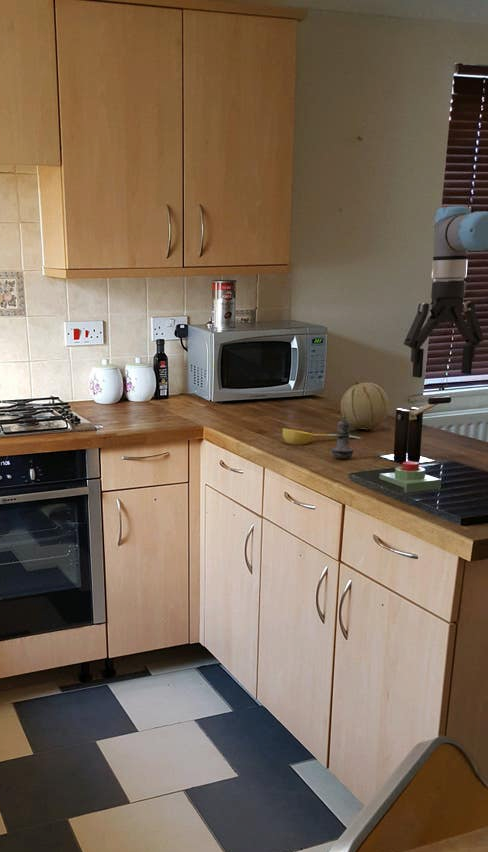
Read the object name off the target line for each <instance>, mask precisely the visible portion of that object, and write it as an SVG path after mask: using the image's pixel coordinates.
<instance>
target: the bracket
mask: <svg viewBox="0 0 488 852" xmlns="http://www.w3.org/2000/svg"><path fill="white" fill-rule="evenodd" d="M417 409H419V408H418V407H409V409H403V408H396V409H395V424H394V441H393V442H394V443H393V454H386V455H378V458H380V459H385V460H387V461H390V462H394V463H397V464H401V465H402V464H403V462H407V461H412V462H418V463H419V465H420V464H428V463H436V462H437V461H436V460H434V459H430V458H427V457H424V456H421V448H422V433H423V421H424V412H422V413H420V414H418V415H416V417H417V419H416V420H414V421H412V422H409V412H410V411H408V410H417Z"/></svg>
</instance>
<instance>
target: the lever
mask: <svg viewBox="0 0 488 852" xmlns="http://www.w3.org/2000/svg"><path fill="white" fill-rule="evenodd" d="M451 402H452V397H451V396H449V395H448V396H437V397H429V398H428V399H427V404H424V405H422V406H421V407H419V408H418V409H417V410H410V409H407V410H408V411H410V412H409V422H412V421H414V420H416V419H417V417H416V415H418V414H420V413H422V412H423V413H424V412H426V411H428V410H430V409H432V408H434V407H436V406H437V405H442V404H450V403H451Z"/></svg>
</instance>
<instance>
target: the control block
mask: <svg viewBox="0 0 488 852" xmlns="http://www.w3.org/2000/svg"><path fill="white" fill-rule="evenodd" d="M378 476H379V477H378V478H379V480H381V481H378V483H379V482H380V483H383V484H385V485H384V486H386V485H387V486H386V487H389V486H390V487H389V488H392V489H395V490H397V491H400V492H403V493H406V494H407V493H408V494H409V493H416V492H424V491H433V490H434V491H435V490H441V488H442V479H441V478H438V477H434V476H431V475H428V474H426V468H425V467H422V466H419V470H417V471H406V470H402V466H397V467H395V469H394V472H385V473H379V475H378ZM382 481H384V482H382ZM386 482H387V483H386ZM380 483H379V484H380ZM388 483H390V484H388ZM383 484H382V485H383ZM391 484H392V485H391ZM394 485H396V486H398V487H396V486H394Z"/></svg>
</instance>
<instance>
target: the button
mask: <svg viewBox="0 0 488 852" xmlns="http://www.w3.org/2000/svg"><path fill="white" fill-rule="evenodd" d="M401 465H402V470H406V471H417V470H419V467H420V464H419V463H418V462H412V461H407V462H403V464H401Z"/></svg>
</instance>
